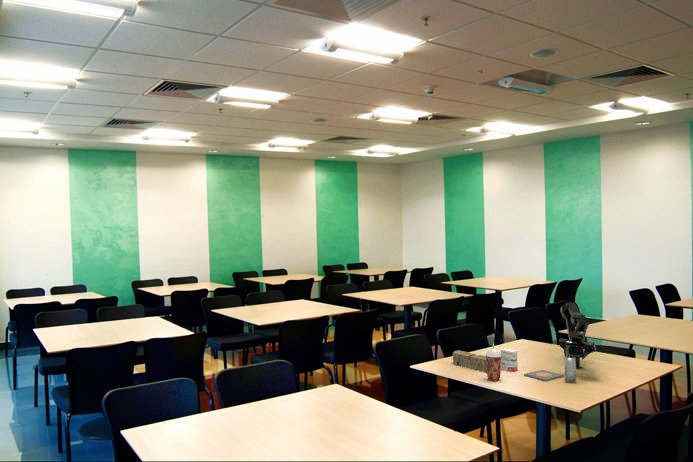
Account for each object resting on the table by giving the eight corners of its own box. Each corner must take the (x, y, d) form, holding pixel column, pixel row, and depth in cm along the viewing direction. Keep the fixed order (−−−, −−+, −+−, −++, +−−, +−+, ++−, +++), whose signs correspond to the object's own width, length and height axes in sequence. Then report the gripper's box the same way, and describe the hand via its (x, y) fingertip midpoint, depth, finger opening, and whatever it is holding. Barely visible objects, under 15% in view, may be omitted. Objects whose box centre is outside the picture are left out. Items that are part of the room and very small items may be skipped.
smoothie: (502, 378, 291) (502, 342, 291) (500, 382, 283) (499, 345, 283) (487, 377, 294) (486, 341, 294) (484, 381, 287) (484, 344, 287)
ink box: (518, 370, 307) (517, 350, 307) (513, 372, 304) (512, 351, 304) (505, 367, 313) (505, 348, 314) (500, 369, 310) (500, 349, 310)
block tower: (451, 365, 324) (490, 374, 301) (450, 352, 325) (489, 359, 301) (459, 363, 329) (498, 371, 306) (459, 350, 329) (498, 357, 306)
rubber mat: (542, 371, 305) (542, 369, 305) (563, 376, 293) (563, 374, 293) (524, 375, 296) (523, 373, 296) (545, 381, 284) (545, 379, 284)
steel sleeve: (569, 379, 287) (568, 355, 287) (578, 382, 282) (577, 357, 282) (562, 381, 284) (562, 357, 284) (571, 383, 279) (571, 359, 279)
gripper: (559, 324, 298) (552, 346, 289) (594, 327, 285) (588, 351, 277) (563, 335, 303) (557, 358, 295) (598, 339, 291) (593, 363, 283)
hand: (573, 357), depth 287 cm, fingers open, 9 cm apart
